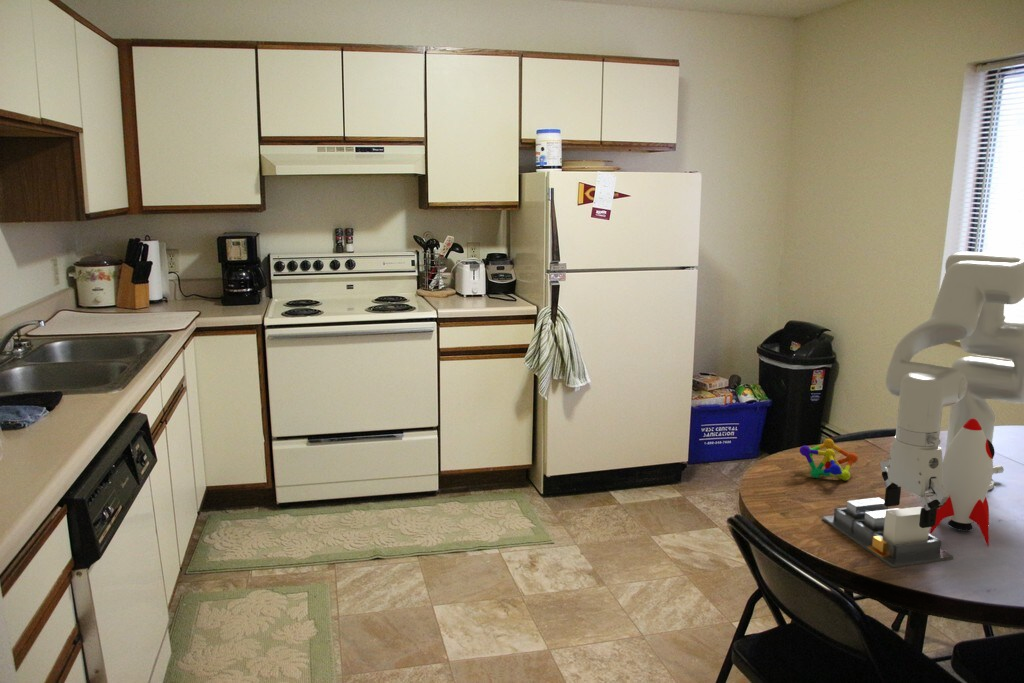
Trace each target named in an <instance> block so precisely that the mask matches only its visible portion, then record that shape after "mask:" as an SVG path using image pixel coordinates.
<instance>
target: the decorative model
mask: <svg viewBox="0 0 1024 683" xmlns="http://www.w3.org/2000/svg"><path fill="white" fill-rule="evenodd" d="M824 448H826V449H825V450H822V449H824ZM835 451H836V452H837V453H840V454H841V455H843V456H845V458H841V459H839V460H837V458H836V457H835V456H836V452H835ZM799 453H800V455H802V456H804V457H805V458H806V460H807V463H808V464H809V467H810V469H811V470H810V472H809V473H810V476H811V477H812V478H814V479H818V478H821V476H823V477H826V476H827V477H838V478H839V479H840V480H842V481H848V480H849V479H850V478H851V474H850V469H851V467H852V465H853V464H855V463H856V462H857V461H858V460H859V458H858V455H857V454H856V453H855V452H850V453H849V452H847V451H845V450H844V449H842V448H841V447H839V446H837V445H835V442H834V440H833V439H832V438H825V439H824V440H823V443H821V444H818V445H815V446H814V447H812V448H811V447H809V445H802V446H800V447H799ZM815 455H816V456H824V457H823V459H822V460H821V462H820V463H819V464H818V465H817V467H816V464H815V460H814V459H813V456H815ZM845 463H847V464H846V465H845V467H844V469H843V467H842V466H841V465H842V464H845ZM823 467H824V469H823Z"/></svg>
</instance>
